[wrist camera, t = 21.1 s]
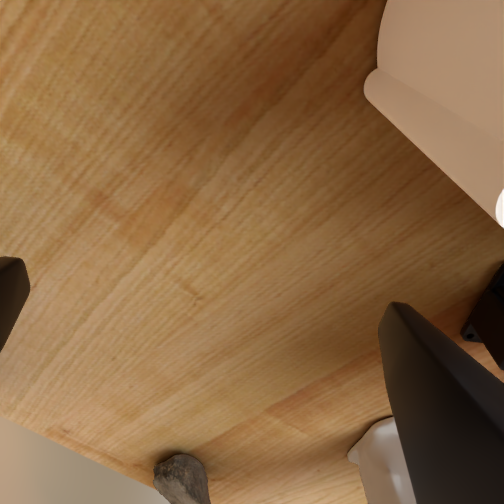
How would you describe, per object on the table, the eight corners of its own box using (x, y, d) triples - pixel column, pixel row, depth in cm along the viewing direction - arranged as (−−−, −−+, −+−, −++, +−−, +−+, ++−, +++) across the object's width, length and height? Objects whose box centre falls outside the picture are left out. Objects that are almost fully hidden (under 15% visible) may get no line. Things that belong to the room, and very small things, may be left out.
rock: (237, 511, 36) (194, 552, 35) (198, 445, 40) (159, 479, 39) (216, 505, 31) (166, 552, 30) (175, 431, 35) (130, 469, 34)
